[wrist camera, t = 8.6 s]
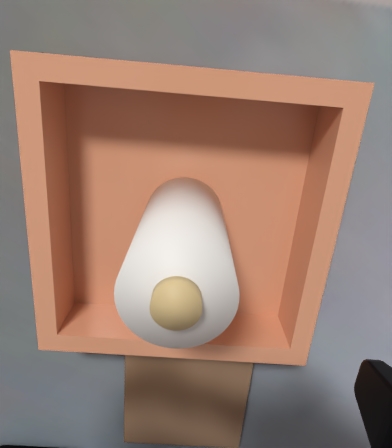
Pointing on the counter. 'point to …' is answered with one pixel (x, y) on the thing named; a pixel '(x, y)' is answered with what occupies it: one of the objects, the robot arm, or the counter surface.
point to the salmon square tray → (175, 168)
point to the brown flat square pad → (185, 401)
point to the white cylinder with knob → (179, 269)
